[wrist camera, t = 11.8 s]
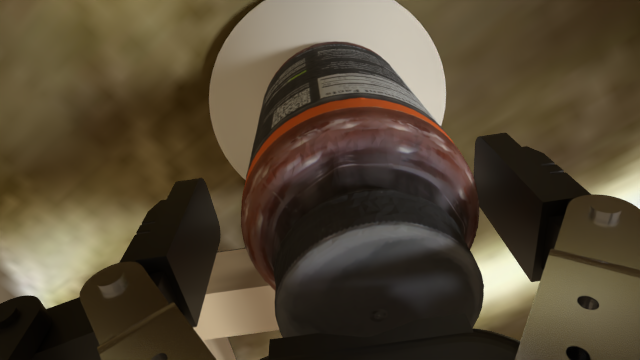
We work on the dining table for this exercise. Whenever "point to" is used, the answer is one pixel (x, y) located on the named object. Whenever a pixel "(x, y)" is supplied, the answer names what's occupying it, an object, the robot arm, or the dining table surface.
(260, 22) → the coaster
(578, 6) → the dining table surface
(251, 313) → the pocket block
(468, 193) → the supplement bottle
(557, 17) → the dining table surface
